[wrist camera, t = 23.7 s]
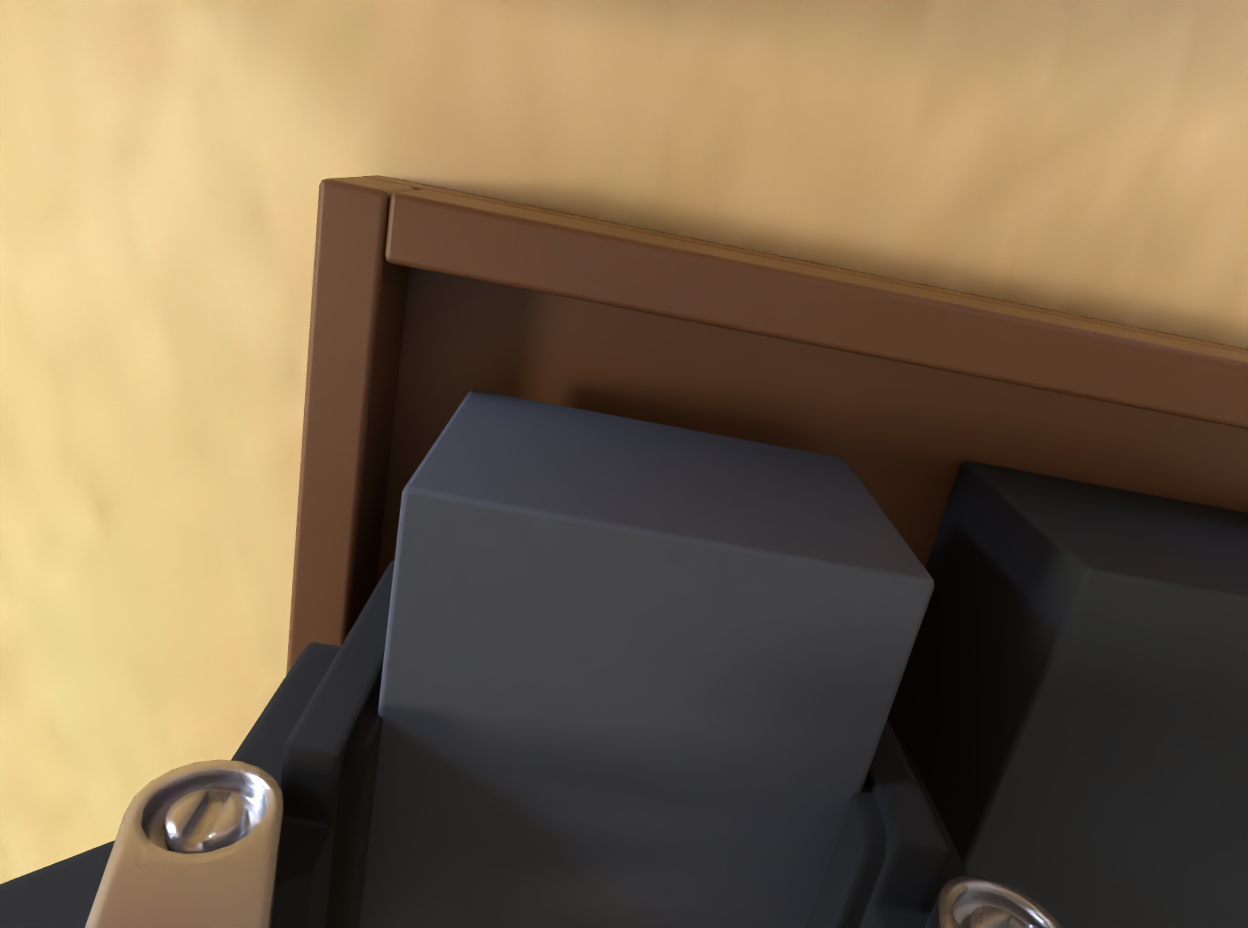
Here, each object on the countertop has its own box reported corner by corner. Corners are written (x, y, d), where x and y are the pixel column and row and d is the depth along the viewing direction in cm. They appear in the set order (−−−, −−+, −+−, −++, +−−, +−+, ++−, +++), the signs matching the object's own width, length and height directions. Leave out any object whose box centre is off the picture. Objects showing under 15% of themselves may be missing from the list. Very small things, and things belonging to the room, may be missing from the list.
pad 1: (846, 456, 11) (939, 582, 8) (710, 909, 14) (737, 1144, 10) (469, 386, 11) (401, 487, 7) (405, 864, 13) (334, 1092, 10)
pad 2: (1284, 518, 12) (1522, 646, 9) (1083, 920, 15) (1212, 1133, 12) (961, 458, 12) (1087, 568, 9) (814, 880, 15) (869, 1086, 11)
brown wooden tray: (1418, 383, 13) (1584, 430, 10) (1100, 987, 17) (1171, 1110, 15) (375, 174, 12) (316, 177, 9) (312, 874, 16) (263, 987, 14)
